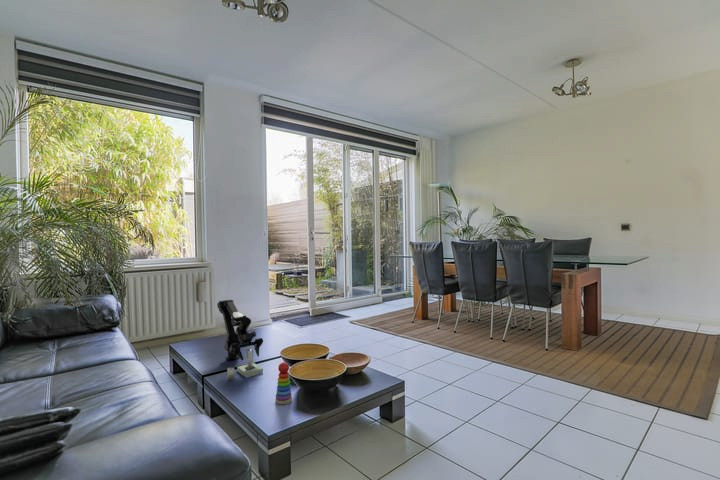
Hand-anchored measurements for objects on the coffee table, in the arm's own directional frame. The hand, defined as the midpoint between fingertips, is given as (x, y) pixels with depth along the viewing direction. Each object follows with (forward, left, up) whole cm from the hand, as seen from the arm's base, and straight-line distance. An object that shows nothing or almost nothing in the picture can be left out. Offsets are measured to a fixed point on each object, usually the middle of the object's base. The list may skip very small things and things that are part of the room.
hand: (250, 358), depth 209 cm
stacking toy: (+43, -3, -9) cm, 44 cm away
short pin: (+1, -12, -9) cm, 15 cm away
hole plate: (-1, 0, -9) cm, 9 cm away
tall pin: (-1, 0, -9) cm, 9 cm away
